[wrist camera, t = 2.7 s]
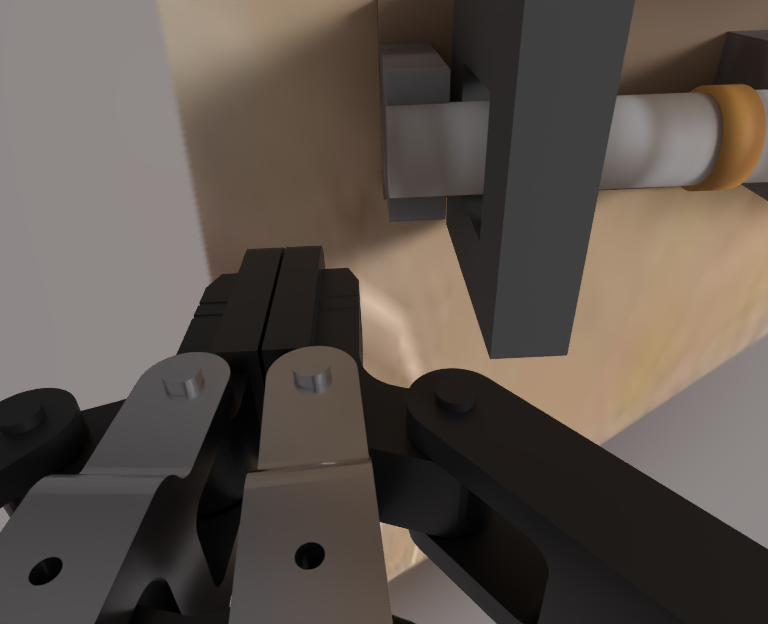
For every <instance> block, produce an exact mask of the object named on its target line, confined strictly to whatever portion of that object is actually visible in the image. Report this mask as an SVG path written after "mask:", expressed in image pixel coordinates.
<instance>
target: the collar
mask: <svg viewBox="0 0 768 624" xmlns="http://www.w3.org/2000/svg"><path fill="white" fill-rule="evenodd" d="M634 4H635V0H454V25H453V53H452V81H451V102H466V101H490V107H489V121H488V135H487V148H486V162H485V176H484V189H483V194H477V195H454V196H447V220H446V225H447V228H448V231H449V234H450V237H451V240H452V243H453V246H454V249H455V252H456V255H457V259H458V262H459V265H460V268H461V271H462V274H463V277H464V280H465V283H466V286H467V289H468V292H469V296H470V299H471V302H472V305H473V308H474V311H475V314H476V317H477V320H478V323H479V326H480V329H481V333H482V336H483V339H484V342H485V345H486V348H487V351H488V354H489V357H490V359H502V358H522V357H543V356H563V355H567V353H568V347H569V342H570V337H571V332H572V327H573V321H574V316H575V311H576V306H577V301H578V295H579V290H580V285H581V280H582V275H583V269H584V264H585V259H586V254H587V249H588V243H589V238H590V233H591V228H592V223H593V217H594V212H595V207H596V202H597V197H598V191H599V186H600V181H601V176H602V171H603V165H604V160H605V155H606V150H607V145H608V139H609V134H610V129H611V124H612V119H613V113H614V108H615V103H616V98H617V93H618V87H619V82H620V77H621V72H622V67H623V61H624V56H625V51H626V46H627V41H628V35H629V30H630V25H631V20H632V15H633V9H634Z"/></svg>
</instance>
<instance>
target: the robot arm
mask: <svg viewBox="0 0 768 624" xmlns="http://www.w3.org/2000/svg"><path fill="white" fill-rule="evenodd" d="M2 507H4V509H5V510H6V512H7V513H8V515H9V517H10V519H9V521H8V522H7V523H6V525H5V527H4V528H3V529H2V531H1V532H0V624H415V623H413V622H411V621H409V620H406V619H403V618H400V617H398V616H395V615H392V612H391V605H390V598H389V589H388V582H387V574H386V567H385V559H384V551H383V544H382V536H381V528H380V522H382V523H386V524H390V525H394V526H398V527H402V528H406V529H409V533H410V536H411V538H412V540H413V541H414V543H415V544H416V545H417V546H418V548H419V549H420V550H421V551H422V552H423V553H424V554H425V555H427V556H428V557H429V558H430V559H431V560H432V561H433V562H434V563H435V564H436V565H437V566H438V567H439V568H440V569H441V570H442V571H443V572H444V573H445V574H446V575H447V576H448V577H449V578H450V579H451V580H452V581H453V582H454V583H455V584H457V586H458V587H459V588H461V589H462V590H463V591H464V592H465V593H466V594H467V595H468V596H469V597H470V598H471V599H472V600H473V601H474V602H475V603H476V604H477V605H478V606H479V607H480V608H481V609H482V610H483V611H484V612H485V613H486V614H487V615H488V616H490V618H491V619H493V620H494V621H495V622H496V623H497V624H768V549H766V548H765V547H763V546H762V545H760V544H758V543H757V542H755V541H753V540H752V539H750V538H748V537H747V536H745V535H744V534H742V533H740V532H739V531H737V530H735V529H734V528H732V527H731V526H729V525H727V524H725V523H724V522H722V521H721V520H719V519H718V518H716V517H714V516H713V515H711V514H709V513H708V512H706V511H704V510H703V509H701V508H700V507H698V506H696V505H695V504H693V503H691V502H690V501H688V500H686V499H685V498H683V497H682V496H680V495H678V494H676V493H675V492H673V491H672V490H670V489H669V488H667V487H665V486H664V485H662V484H660V483H659V482H657V481H656V480H654V479H652V478H651V477H649V476H647V475H646V474H644V473H642V472H641V471H639V470H638V469H636V468H634V467H633V466H631V465H629V464H628V463H626V462H624V461H623V460H621V459H619V458H618V457H616V456H615V455H613V454H611V453H610V452H608V451H606V450H605V449H603V448H602V447H600V446H598V445H597V444H595V443H593V442H592V441H590V440H589V439H587V438H585V437H584V436H582V435H580V434H579V433H577V432H575V431H574V430H572V429H571V428H569V427H567V426H566V425H564V424H562V423H561V422H559V421H558V420H556V419H554V418H553V417H551V416H549V415H548V414H546V413H544V412H543V411H541V410H540V409H538V408H536V407H535V406H533V405H531V404H530V403H528V402H527V401H525V400H523V399H522V398H520V397H518V396H517V395H515V394H513V393H512V392H510V391H509V390H507V389H505V388H504V387H502V386H500V385H499V384H497V383H495V382H494V381H492V380H491V379H489V378H487V377H485V376H483V375H482V374H479V373H476V372H474V371H470V370H465V369H455V368H449V369H440V370H435V371H432V372H429V373H427V374H425V375H423V376H421V377H419V378H418V379H417V380H415V381H414V382H413V384H412V385H411V386H410V388H403V387H398V386H394V385H389V384H387V383H384V382H381V381H379V380H377V379H375V378H374V377H372V376H371V375H370V374H369V373H368V372H367V371H366V370H365V369H364V368H363V340H362V325H361V309H360V293H359V280H358V279H357V278H356V276H355V275H354V274H353V273H352V272H351V271H350V269H349V268H337V269H325V262H324V253H323V248H322V246H304V247H286V248H285V249H284V248H263V249H247V251H246V253H245V256H244V258H243V261H242V264H241V267H240V269H239V272H238V273H235V274H222V275H221V276H220V277H218V278H217V279H216V280H215V281H214V282H212V283H211V284H210V285H209V286H208V287H206V289H205V292H204V294H203V296H202V298H201V301H200V306H198V307H197V310H196V312H195V314H194V319H192V321H191V323H190V325H189V327H188V330H187V332H186V334H185V336H184V339H183V341H182V343H181V345H180V348H179V350H178V352H177V354H176V355H175V356H172V357H169V358H167V359H164V360H162V361H160V362H158V363H157V364H155V365H153V366H152V367H151V368H149V369H148V370H147V371H146V372H145V373H144V374H143V375H142V376H141V377H140V379H139V380H138V381H137V383H136V385H135V386H134V388H133V389H132V391H131V393H130V394H129V396H128V397H127V399H124V400H121V401H118V402H113V403H110V404H106V405H102V406H98V407H95V408H91V409H87V410H83V411H81V410H80V408H79V406H78V404H77V401H76V399H75V397H74V396H73V395H72V394H71V393H69V392H67V391H66V390H62V389H57V388H41V389H34V390H30V391H26V392H22V393H19V394H16V395H14V396H11V397H9V398H7V399H4V400H2V401H1V402H0V508H2ZM231 596H232V598H231ZM230 600H231V607H229V606H230Z"/></svg>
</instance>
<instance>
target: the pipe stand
mask: <svg viewBox="0 0 768 624" xmlns="http://www.w3.org/2000/svg"><path fill="white" fill-rule="evenodd" d="M377 10H378V43H379V75H380V108H381V140H382V173H383V194H384V199H387V203H388V211H389V220H390V222H392V221H415V220H437V219H445V214H446V197H447V196H454V195H477V194H483V189H484V176H485V162H486V148H487V135H488V121H489V107H490V101H466V102H451V81H452V53H453V25H454V0H377ZM740 184H742V185H743V186H745V187H746V188H748V189H750V190H751V191H753V192H754V193H756V194H758V195H759V196H761V197H762V198H764V199H766V200H767V201H768V0H635V4H634V9H633V15H632V20H631V25H630V30H629V35H628V41H627V46H626V51H625V56H624V61H623V67H622V72H621V77H620V82H619V87H618V93H617V98H616V103H615V108H614V113H613V119H612V124H611V129H610V134H609V139H608V145H607V150H606V155H605V160H604V165H603V171H602V176H601V181H600V186H599V190H617V189H640V188H663V187H682V188H683V189H685V190H687V191H709V190H728V189H733V188H735V187H737V186H739V185H740Z"/></svg>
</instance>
